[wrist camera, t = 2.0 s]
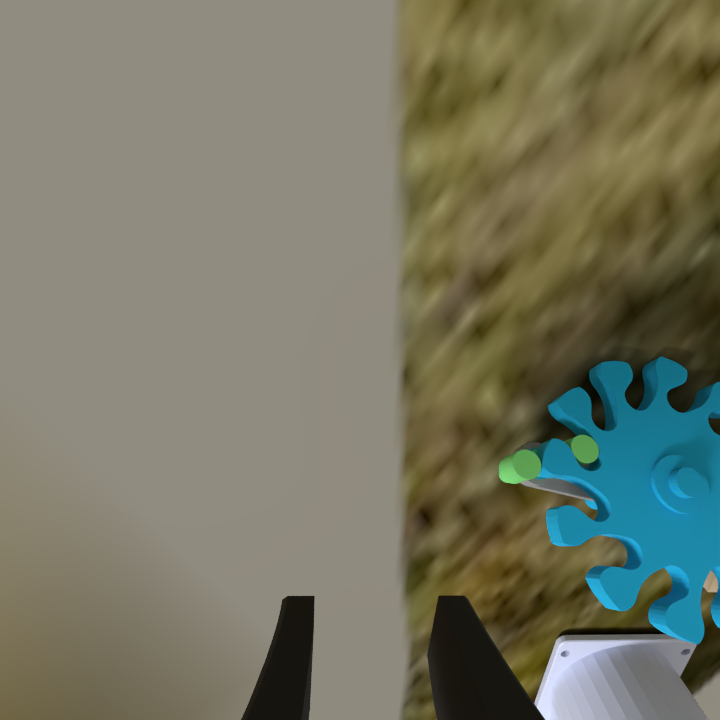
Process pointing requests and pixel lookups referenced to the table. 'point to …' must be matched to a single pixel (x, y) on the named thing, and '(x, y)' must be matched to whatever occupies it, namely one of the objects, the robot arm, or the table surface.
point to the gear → (637, 488)
